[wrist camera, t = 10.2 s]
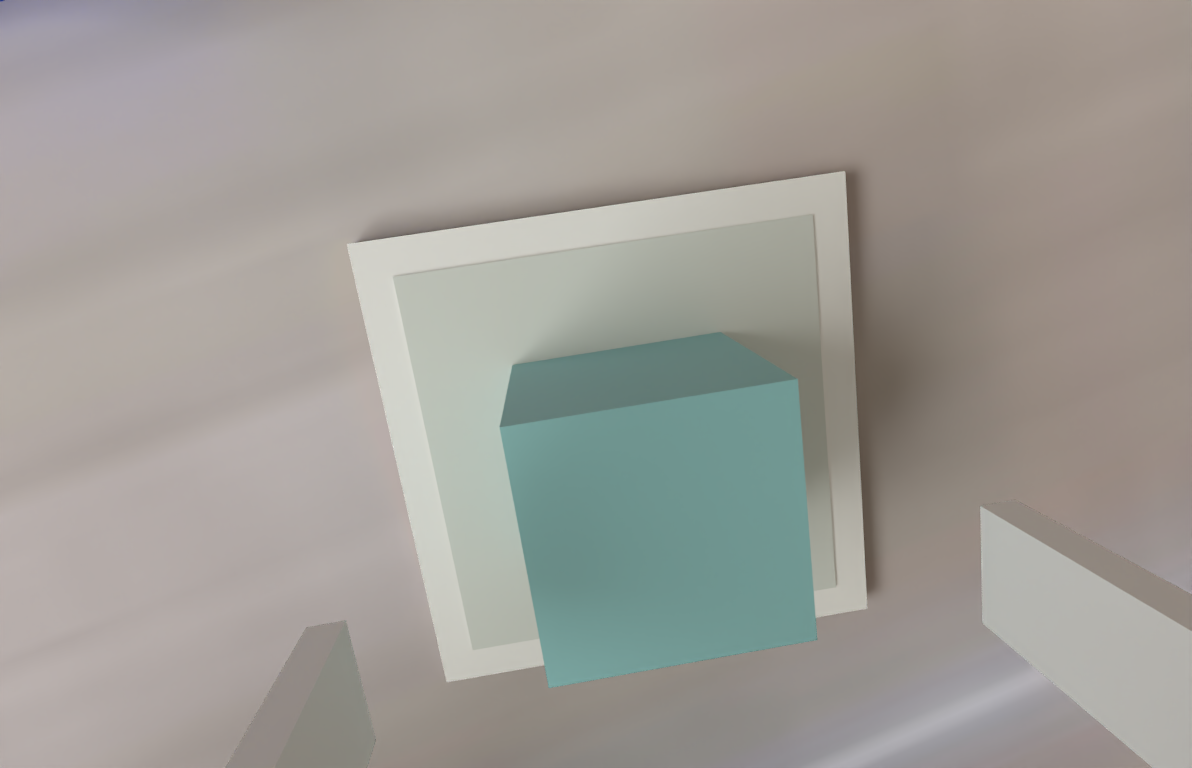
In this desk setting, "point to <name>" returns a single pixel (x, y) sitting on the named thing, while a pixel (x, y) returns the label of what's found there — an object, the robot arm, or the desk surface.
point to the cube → (659, 505)
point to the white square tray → (589, 324)
